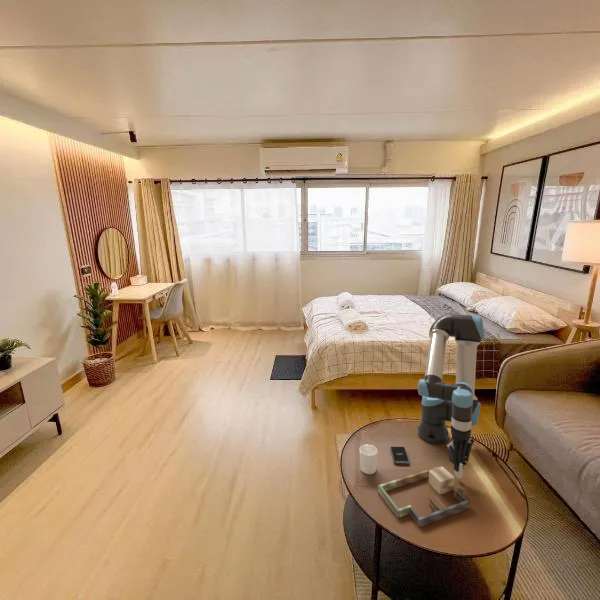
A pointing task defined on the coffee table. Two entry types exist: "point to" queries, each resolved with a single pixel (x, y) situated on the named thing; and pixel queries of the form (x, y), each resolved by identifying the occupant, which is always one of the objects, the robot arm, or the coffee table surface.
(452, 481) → the block
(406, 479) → the channel
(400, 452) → the external hard drive
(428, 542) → the coffee table surface
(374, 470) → the white cup
